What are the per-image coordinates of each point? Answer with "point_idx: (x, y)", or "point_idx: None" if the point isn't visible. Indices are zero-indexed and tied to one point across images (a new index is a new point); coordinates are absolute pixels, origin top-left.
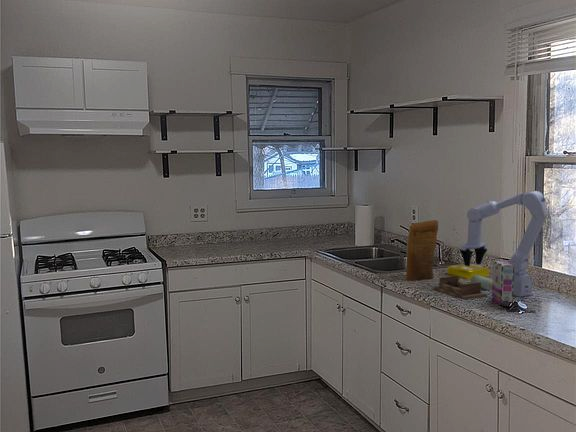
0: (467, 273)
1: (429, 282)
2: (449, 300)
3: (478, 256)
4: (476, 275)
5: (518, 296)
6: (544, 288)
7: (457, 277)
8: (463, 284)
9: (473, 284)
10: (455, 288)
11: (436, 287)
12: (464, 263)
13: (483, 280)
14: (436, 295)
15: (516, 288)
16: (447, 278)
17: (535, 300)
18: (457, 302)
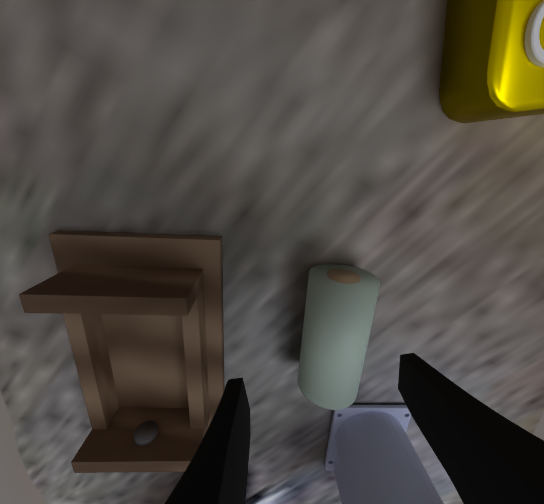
0: (471, 90)
1: (124, 47)
2: (38, 414)
3: (458, 452)
4: (348, 308)
5: (324, 465)
6: (524, 419)
7: (178, 310)
8: (82, 468)
9: (149, 466)
10: (84, 398)
11: (58, 253)
12: (222, 395)
13: (311, 375)
14: (15, 337)
15: (343, 483)
16: (87, 309)
17: (334, 501)
18: (56, 441)
